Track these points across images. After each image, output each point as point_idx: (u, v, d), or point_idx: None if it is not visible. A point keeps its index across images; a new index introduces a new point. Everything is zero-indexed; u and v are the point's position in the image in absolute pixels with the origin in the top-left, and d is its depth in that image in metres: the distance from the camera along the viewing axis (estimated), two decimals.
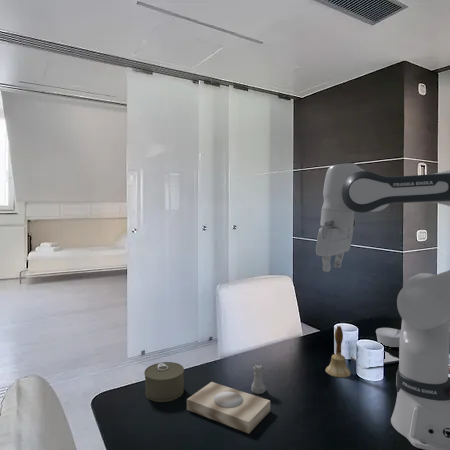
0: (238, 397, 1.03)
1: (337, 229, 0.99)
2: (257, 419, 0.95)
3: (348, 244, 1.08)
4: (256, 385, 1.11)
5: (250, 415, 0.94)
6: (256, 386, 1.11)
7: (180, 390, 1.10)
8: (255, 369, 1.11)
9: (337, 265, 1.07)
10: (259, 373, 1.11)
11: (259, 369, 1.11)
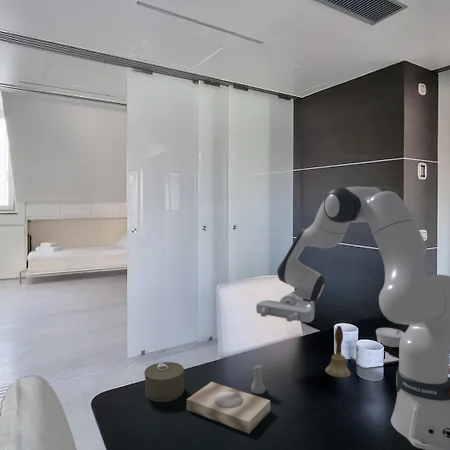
0: (238, 397, 1.03)
1: None
2: (257, 419, 0.95)
3: (303, 309, 1.23)
4: (256, 385, 1.11)
5: (250, 415, 0.94)
6: (256, 386, 1.11)
7: (180, 390, 1.10)
8: (255, 369, 1.11)
9: None
10: (259, 373, 1.11)
11: (259, 369, 1.11)
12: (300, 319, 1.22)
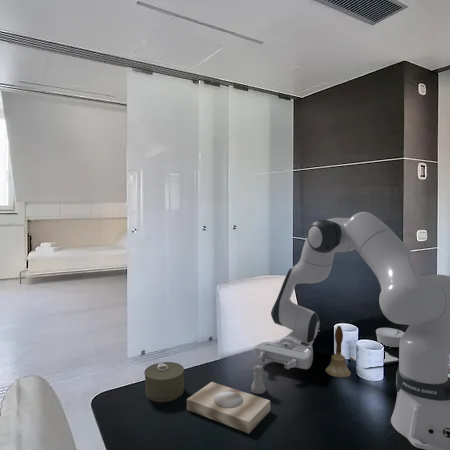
0: (238, 397, 1.03)
1: (277, 344, 1.33)
2: (257, 419, 0.95)
3: (301, 355, 1.22)
4: (256, 385, 1.11)
5: (250, 415, 0.94)
6: (256, 386, 1.11)
7: (180, 390, 1.10)
8: (255, 369, 1.11)
9: None
10: (259, 373, 1.11)
11: (259, 369, 1.11)
12: (298, 365, 1.21)
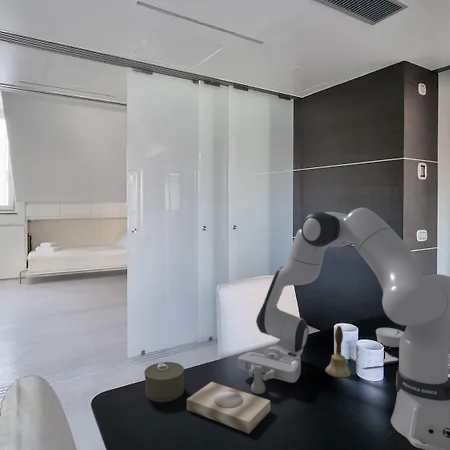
0: (238, 397, 1.03)
1: (262, 354, 1.23)
2: (257, 419, 0.95)
3: (288, 367, 1.13)
4: (256, 384, 1.11)
5: (250, 415, 0.94)
6: (256, 386, 1.11)
7: (180, 390, 1.10)
8: (255, 369, 1.11)
9: None
10: (259, 373, 1.11)
11: (259, 369, 1.11)
12: (284, 379, 1.12)
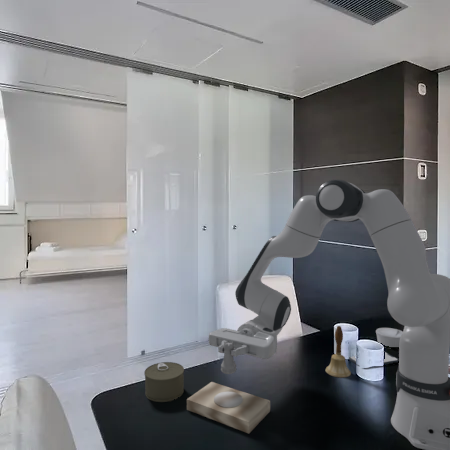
0: (238, 397, 1.03)
1: None
2: (257, 419, 0.95)
3: (261, 342, 1.02)
4: (226, 364, 1.00)
5: (250, 415, 0.94)
6: (226, 365, 1.00)
7: (180, 390, 1.10)
8: (225, 346, 1.00)
9: None
10: (229, 351, 1.00)
11: (229, 346, 1.00)
12: (257, 355, 1.01)
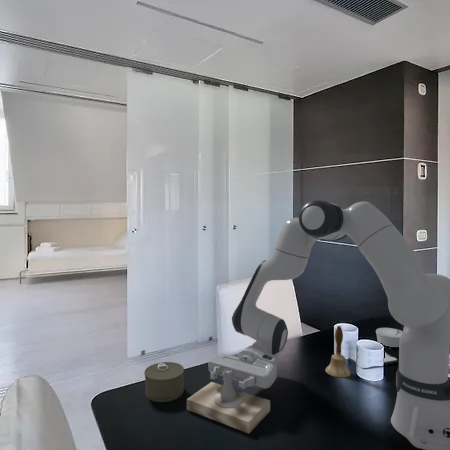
0: (238, 397, 1.03)
1: None
2: (257, 419, 0.95)
3: (261, 371, 1.02)
4: (226, 392, 1.00)
5: (250, 415, 0.94)
6: (226, 393, 1.00)
7: (180, 390, 1.10)
8: (224, 374, 1.00)
9: None
10: (229, 379, 1.00)
11: (229, 374, 1.00)
12: (256, 384, 1.01)
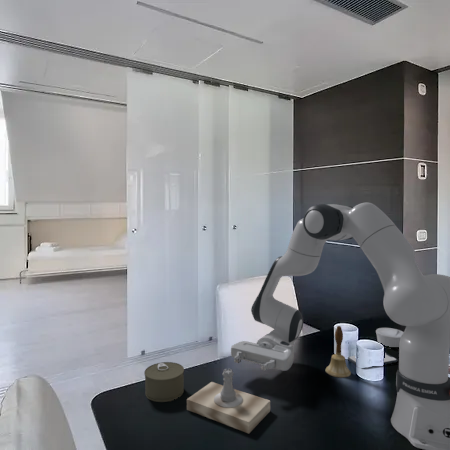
0: (238, 397, 1.03)
1: (255, 343, 1.23)
2: (257, 419, 0.95)
3: (280, 355, 1.13)
4: (226, 392, 1.00)
5: (250, 415, 0.94)
6: (226, 393, 1.00)
7: (180, 390, 1.10)
8: (224, 374, 1.00)
9: None
10: (229, 379, 1.00)
11: (229, 374, 1.00)
12: (276, 367, 1.12)
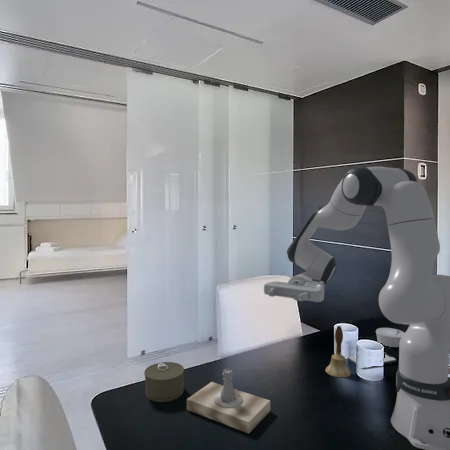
0: (238, 397, 1.03)
1: None
2: (257, 419, 0.95)
3: (313, 289, 1.19)
4: (226, 392, 1.00)
5: (250, 415, 0.94)
6: (226, 393, 1.00)
7: (180, 390, 1.10)
8: (224, 374, 1.00)
9: None
10: (229, 379, 1.00)
11: (229, 374, 1.00)
12: (310, 298, 1.17)
